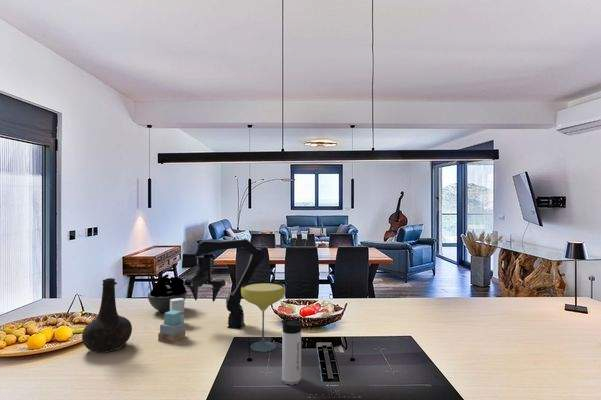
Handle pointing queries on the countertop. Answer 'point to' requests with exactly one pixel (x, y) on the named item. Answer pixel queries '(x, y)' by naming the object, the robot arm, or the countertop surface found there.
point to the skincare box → (178, 306)
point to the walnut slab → (171, 337)
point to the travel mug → (291, 352)
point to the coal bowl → (166, 292)
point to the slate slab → (171, 328)
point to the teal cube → (172, 317)
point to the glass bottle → (107, 324)
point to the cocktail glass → (263, 304)
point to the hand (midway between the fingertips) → (204, 300)
